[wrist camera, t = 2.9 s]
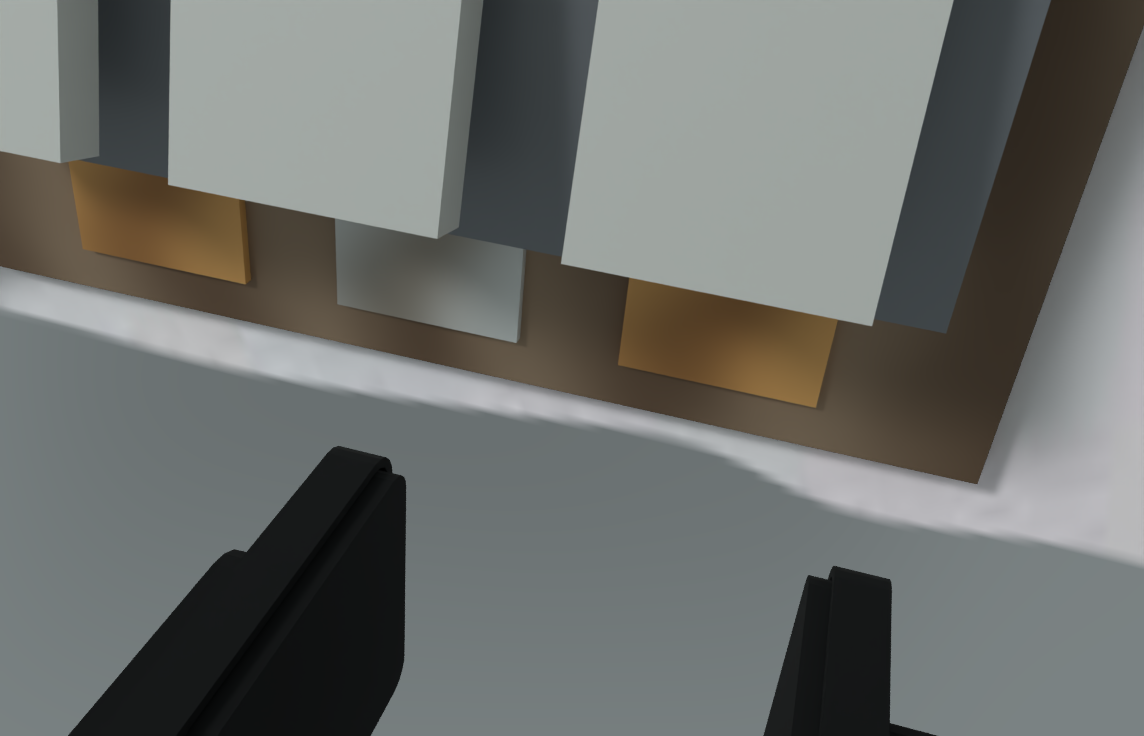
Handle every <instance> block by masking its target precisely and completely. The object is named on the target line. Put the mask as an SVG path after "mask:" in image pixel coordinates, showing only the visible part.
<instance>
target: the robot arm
mask: <svg viewBox="0 0 1144 736" xmlns="http://www.w3.org/2000/svg"><path fill="white" fill-rule="evenodd" d="M405 534H406V481H405V478H404V477H403V476H401V475H397V474H393V473H392V465H391V462H390V460H389V459H388V458H386V457H382V456H378V455H374V454H369V453H366V452H362V451H357V450H353V449H349V448H345V447H341V446H337V447H334V448H332V449H331V450H330V451H329V452H328V453H327V454H326V456H325V457H324V458H323V459H322V460H321V462H320V463H319V464H318V465H317V467H316V468H315V469H314V470H313V471H312V473H311V474H310V475H309V476H308V478H307V479H306V480H305V481H304V483H303V484H302V485H301V486H300V487H299V489H298V490H297V491H296V492H295V494H294V495H293V496H292V497H291V498H290V500H289V501H288V502H287V503H286V505H285V506H284V507H283V508H282V509H281V511H280V512H279V513H278V514H277V516H276V517H275V518H274V519H273V520H272V522H271V523H270V524H269V525H268V527H267V528H266V529H265V530H264V531H263V533H262V534H261V535H260V537H259V538H258V539H257V540H256V541H255V543H254V544H253V545H252V546H251V547H250V549H249V550H248V551H247V552H244V551H239V550H232V551H229V552H227V553H225V554H223V555H222V556H221V557H220V558H219V559H218V560H217V561H216V562H215V563H214V564H213V565H212V566H211V567H210V568H209V570H208V571H207V572H206V573H205V575H204V576H203V577H202V578H201V579H200V580H199V581H198V583H197V584H196V585H195V586H194V587H193V589H192V590H191V591H190V592H189V593H188V595H187V596H186V597H185V598H184V599H183V600H182V602H181V603H180V604H179V605H178V606H177V608H176V609H175V610H174V611H173V612H172V613H171V615H170V616H169V617H168V619H166V621H165V622H164V623H163V624H162V625H161V626H160V628H159V629H158V630H157V631H156V632H155V634H154V635H153V636H152V637H151V638H150V640H149V641H148V642H147V643H146V644H145V646H144V647H143V648H142V649H141V650H140V651H139V652H138V654H137V655H136V656H135V657H134V658H133V660H132V661H131V662H130V663H129V664H128V666H127V667H126V668H125V669H124V670H123V671H122V673H121V674H120V675H119V676H118V677H117V679H116V680H115V681H114V682H113V683H112V684H111V686H110V687H109V688H108V689H107V690H106V691H105V693H104V694H103V695H102V697H100V699H99V700H98V701H97V702H96V703H95V704H94V706H93V707H92V708H91V709H90V710H89V712H88V713H87V714H86V715H85V716H84V717H83V719H82V720H81V721H80V722H79V724H78V725H77V726H76V727H75V728H74V729H73V730H72V732H71V733H70V734H69V735H68V736H371V734H372V732H373V730H374V728H375V726H376V725H377V722H378V721H379V719H380V717H381V716H382V714H383V712H384V710H385V708H386V706H387V704H388V703H389V701H390V698H391V697H392V695H393V693H394V691H395V689H396V687H397V684H398V682H399V679H400V675H401V672H402V668H403V663H404V640H405V639H404V638H405V631H404V630H405V545H406V544H405V541H406V535H405ZM891 600H892V586H891V581H890V579H886V578H882V577H878V576H874V575H870V574H866V573H861V572H857V571H853V570H849V569H845V568H841V567H837V566H833V567H832V569H831V571H830V574H829V578H828V580H827V579H823V578H818V577H814V576H810V575H808V577H807V580H806V583H805V586H804V590H803V594H802V597H801V601H800V604H799V608H798V612H797V615H796V619H795V623H794V627H793V630H792V634H791V637H790V641H789V645H788V648H787V652H786V655H785V659H784V663H783V666H782V670H781V674H780V678H779V681H778V685H777V689H776V692H775V696H774V699H773V703H772V707H771V710H770V714H769V718H768V722H767V725H766V729H765V732H764V736H936V735H932V734H929V733H925V732H921V731H917V730H913V729H910V728H906V727H902V726H899V725H895V724H891V723H890V667H891V604H892V601H891Z"/></svg>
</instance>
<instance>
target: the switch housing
mask: <svg viewBox="0 0 1144 736" xmlns="http://www.w3.org/2000/svg"><path fill="white" fill-rule="evenodd" d="M598 2H599V0H483V8H482V18H481V27H480V36H479V45H478V55H477V64H476V73H475V82H474V91H473V101H472V110H471V119H470V128H469V138H468V147H467V156H466V165H465V175H464V184H463V193H462V202H461V211H460V221H459V228H457V229H455V230H453V231H451V232H449V233H447V234H451V235H456V236H461V237H466V238H471V239H476V240H481V241H486V242H491V243H496V244H501V245H506V246H511V247H516V248H521V249H526V250H531V251H536V252H541V253H546V254H551V255H556V256H561V257H562V253H563V246H564V239H565V232H566V225H567V218H568V211H569V204H570V197H571V190H572V183H573V176H574V169H575V162H576V155H577V148H578V141H579V134H580V127H581V121H582V114H583V107H584V100H585V93H586V86H587V79H588V72H589V65H590V58H591V51H592V44H593V37H594V30H595V23H596V16H597V9H598ZM1050 2H1051V0H954V1H953V5H952V9H951V13H950V17H949V21H948V25H947V29H946V33H945V37H944V41H943V45H942V49H941V53H940V57H939V61H938V65H937V69H936V73H935V77H934V81H933V85H932V89H931V93H930V97H929V101H928V104H927V108H926V112H925V116H924V120H923V124H922V128H921V132H920V136H919V140H918V144H917V148H916V152H915V156H914V160H913V164H912V168H911V172H910V176H909V180H908V184H907V188H906V192H905V196H904V200H903V204H902V208H901V212H900V216H899V220H898V224H897V228H896V232H895V236H894V240H893V244H892V248H891V252H890V256H889V260H888V264H887V268H886V272H885V276H884V280H883V284H882V288H881V292H880V296H879V300H878V304H877V308H876V312H875V316H874V319H876V320H881V321H886V322H891V323H896V324H901V325H906V326H911V327H916V328H921V329H926V330H931V331H936V332H941V333H946V332H947V329H948V326H949V323H950V319H951V316H952V313H953V310H954V307H955V304H956V300H957V297H958V294H959V291H960V288H961V284H962V281H963V278H964V275H965V272H966V269H967V265H968V262H969V259H970V256H971V253H972V249H973V246H974V243H975V240H976V237H977V234H978V230H979V227H980V224H981V221H982V218H983V215H984V211H985V208H986V205H987V202H988V199H989V195H990V192H991V189H992V186H993V183H994V180H995V176H996V173H997V170H998V167H999V164H1000V161H1001V157H1002V154H1003V151H1004V148H1005V145H1006V141H1007V138H1008V135H1009V132H1010V129H1011V126H1012V122H1013V119H1014V116H1015V113H1016V110H1017V106H1018V103H1019V100H1020V97H1021V94H1022V91H1023V87H1024V84H1025V81H1026V78H1027V75H1028V72H1029V68H1030V65H1031V62H1032V59H1033V56H1034V52H1035V49H1036V46H1037V43H1038V40H1039V37H1040V33H1041V30H1042V27H1043V24H1044V21H1045V17H1046V14H1047V11H1048V8H1049V5H1050ZM170 12H171V0H98V58H99V156H97V157H92V158H86V159H81V160H80V161H85V162H90V163H95V164H100V165H105V166H110V167H115V168H120V169H125V170H130V171H135V172H140V173H145V174H150V175H155V176H160V177H165V178H168V155H169V84H170Z"/></svg>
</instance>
